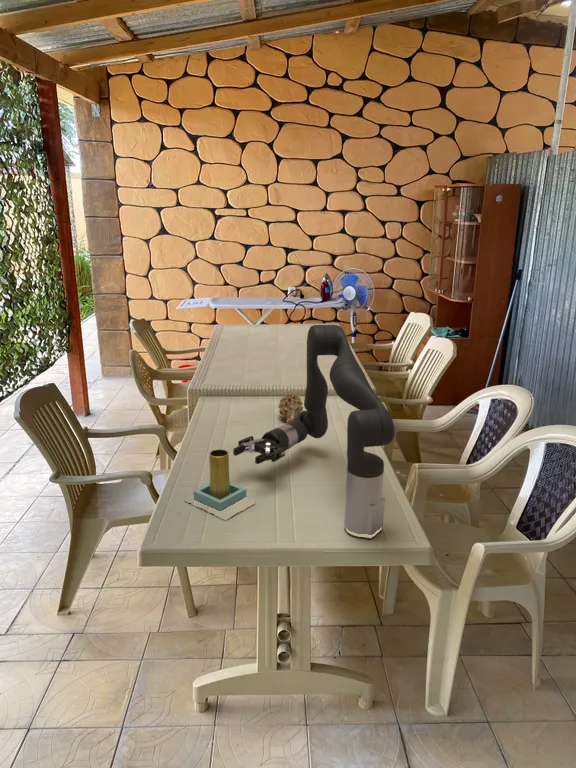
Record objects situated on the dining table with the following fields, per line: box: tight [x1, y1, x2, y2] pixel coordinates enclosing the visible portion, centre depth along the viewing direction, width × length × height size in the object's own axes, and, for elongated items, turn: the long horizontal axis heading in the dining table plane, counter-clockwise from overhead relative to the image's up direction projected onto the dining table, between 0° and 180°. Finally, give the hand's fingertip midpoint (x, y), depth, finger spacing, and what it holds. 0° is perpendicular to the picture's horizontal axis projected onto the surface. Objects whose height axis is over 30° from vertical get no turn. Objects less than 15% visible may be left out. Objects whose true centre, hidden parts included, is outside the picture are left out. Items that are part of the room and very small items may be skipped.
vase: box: [208, 448, 230, 500], centre depth 170 cm, size 6×6×14 cm
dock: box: [193, 482, 247, 511], centre depth 172 cm, size 16×12×4 cm
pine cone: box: [277, 391, 304, 423], centre depth 229 cm, size 22×10×10 cm, turn 3°
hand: (245, 456), depth 177 cm, fingers open, 8 cm apart
